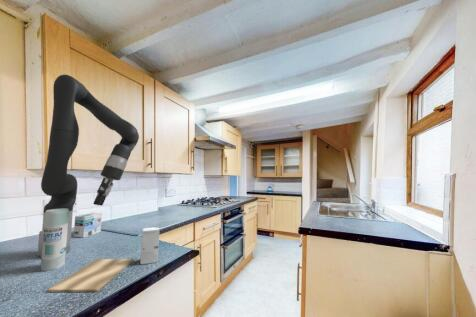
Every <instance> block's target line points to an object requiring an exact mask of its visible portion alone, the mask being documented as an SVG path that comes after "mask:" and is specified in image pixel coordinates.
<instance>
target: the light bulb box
mask: <svg viewBox="0 0 476 317" xmlns="http://www.w3.org/2000/svg"><path fill="white" fill-rule="evenodd" d="M102 215H103V213H101V212H100V213H98V212H91V213H85V214H81V215H75V217H74V228H73V238H86V237H89V236H90V237H91V236H93V235H96V233H97V234H100V233H101V231H102V219H103V217H102ZM99 232H100V233H99Z"/></svg>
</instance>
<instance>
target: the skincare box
mask: <svg viewBox="0 0 476 317" xmlns="http://www.w3.org/2000/svg"><path fill="white" fill-rule="evenodd" d="M141 232H142V234H141V235H142V236H141V244H140V245H141V247H140V248H141V249H140V265H145V264H146V265H147V264H152V263H157V262H158V260H159V244H160V242H159V241H160V227H159V226H156V227H154V226H152V227H143V228H142V231H141Z"/></svg>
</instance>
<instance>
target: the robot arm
mask: <svg viewBox="0 0 476 317" xmlns="http://www.w3.org/2000/svg"><path fill="white" fill-rule="evenodd" d="M52 88H53V108H52V119H51V127H50V132H49V142H48V150H47V155H46V161H45V162H46V163H45V166H44V170H43V174H42V178H41V182H40V188H41V191H42V192H43V194H45V195H47V196H50V200H49V201H48V203H46V204H45V205H44V207H43V214H42V224H41V225H42V227H41V231H39V232H38V244H37V245H38V246H37V257H40V258H42V246H43V232H44V218H45V212H46V210H51V209H62V208H66V209H69V217H68V230H67V242H66V254H68V253H69V252H70V251H71V241H72V230H73V229H72V228H73V216H74V215H73V211H74V205H75V204H76V200H77V192H78V181H77V180H78V179H77V178H76V176H74V175H73V174H70V173H68V165H69V162H70V158H71V156H72V155H73V154H74V152H75V150H76V148H77V146H78V143H79V136H80V128H79V127H80V126H79V123H78V120H77V116H76V113H75V103H76V104H78V105H80V106H81V107H83V108H85V109H86V110H87V111H88V112H89V113H91V115H93V116H94V117H95V119H97V120H98V122H100V123H101V124H102V125H104V126H105V127H107V128H108V129H109V130H111V131H114V132H115V133H117V135H119V136H120V138H121V139H120V141H119V143H117V144H115V145H114V146H113V149H112V151H111V153H110V155H109V156H108V158H107V159H106V162H105V164H104V166H103V168H102V170H101V172H100V176H101V177H103V178H102V181H101V182H100V185H99V186H98V189H97V190H96V197H95V198H94V201H93V205H95V206H104V203H105V200H106V199H107V197H108V196H109V194H110V192H111V190H112V188H113V187H114V183H113V182H114V181H120V180H121V179H122V176H123V175H124V172H125V169H126V167H127V165H128V161H129V160H130V159H129V158H130V156H131V153H132V152H133V150H134V149H135V147H137V143H138V142H139V139H140V136H139V132H138V129H137V127H135V126H134V125H133V124H132V123H131V122H129V121H127V120H126V119H125V118H122V117H121V116H119V115H118V114H117V113H116V112H114V111H113V110H112V109H111V108H109V107H108V106H107V105H105V104H104V103H102V102H100V101H99V100H98V99H97V98H96V97H95V96H94V95H93V94H92V93H91V92H90V90H88V89H87V88H86V86H85V85H84V84H83V83H81V82H80V81H79V80H77V79H76V78H74V77H73V76H71V75H70V74H60V75H58V76H57V77H56V78H55V79H54V82H53V87H52Z"/></svg>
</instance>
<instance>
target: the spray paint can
mask: <svg viewBox="0 0 476 317" xmlns="http://www.w3.org/2000/svg"><path fill="white" fill-rule="evenodd" d="M68 217H69V209H66V208H62V209H51V210H46V212H45V218H44V232H43V246H42V257H41V264H40V270H41V271H42V272H49V271H54V270H57V269H60V268H62V267H64V266H65V263H66V255H67V253H66V242H67V230H68Z"/></svg>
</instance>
